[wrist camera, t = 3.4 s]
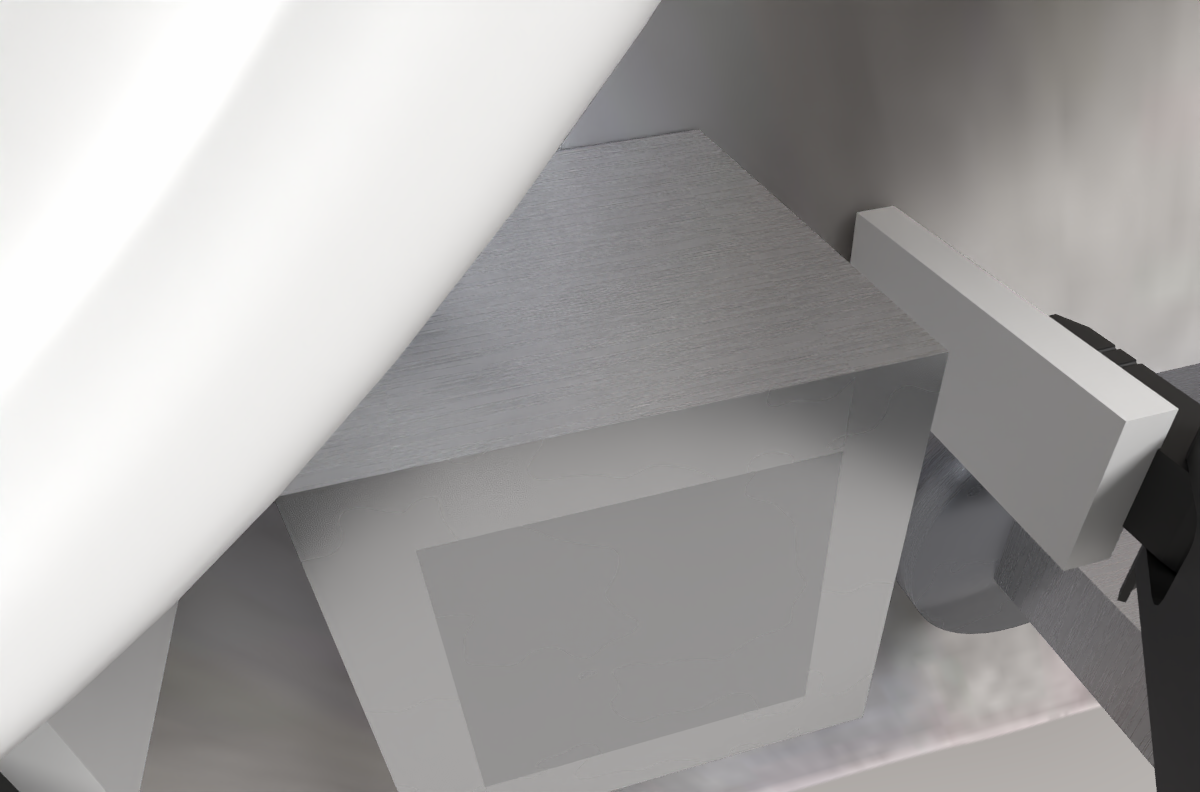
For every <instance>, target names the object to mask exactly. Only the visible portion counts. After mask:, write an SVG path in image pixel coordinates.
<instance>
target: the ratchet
mask: <svg viewBox="0 0 1200 792" xmlns="http://www.w3.org/2000/svg"><path fill="white" fill-rule="evenodd" d="M1156 374H1157V375H1159V376H1160V377H1162V378H1163V379H1165V380H1166V381H1168V382H1169V383H1171V384H1172V385H1173V386H1175V387H1176V388H1178V389H1179V390H1181V391H1182V392H1184V393H1185V394H1186V395H1188V396H1189V397H1191V398H1192V399H1194V400H1195V401H1197V402H1198V403H1199V404H1200V363H1199V364H1195V365H1190V366H1186V367H1182V368H1177V369H1173V370H1169V371H1165V372H1160V373H1156ZM1141 545H1142V544H1141V543H1140V542H1139V541H1138V540H1137V539H1136V538H1134V537H1133V536H1132V535H1131V534H1130V533H1129V532H1128V531H1127V530H1126V529H1125V528H1124V529H1123V531H1122V533H1121V535H1120V537H1119V539H1118V542H1117V544H1116V546H1115V548H1114V550H1113V552H1112V555H1111V557H1110V559H1106V560H1103V561H1099V562H1095V563H1092V564H1088V565H1084V566H1081V567H1077V568H1073V569H1069V570H1066V571H1063V570H1062V569H1061V568H1060V567H1059V566H1058V565H1057V563H1056V562H1055V561H1054V560H1053V559H1052V558H1051V557H1050V556H1049V555H1048V554H1047V553H1046V552H1045V551H1044V550H1043V549H1042V548H1041V547H1040V546H1039V545H1038V543H1037V542H1036V541H1035V540H1034V539H1033V538H1032V537H1031V536H1030V535H1029V534H1028V533H1027V532H1026V531H1025V530H1024V529H1023V528H1022V527H1021V526H1020V525H1019V524H1018V522H1017V521H1016V520H1015V519H1014V518H1013V517H1012V516H1011V515H1010V514H1009V513H1008V512H1007V511H1006V510H1005V509H1004V508H1003V507H1002V506H1001V505H1000V504H999V502H998V501H997V500H996V499H995V498H994V497H993V496H992V495H991V494H990V493H989V492H988V491H987V490H986V489H985V488H984V487H983V486H982V485H981V484H980V483H979V481H978V480H977V479H976V478H975V477H974V476H973V475H972V474H971V473H970V472H969V471H968V470H967V469H966V468H965V467H964V466H963V465H962V464H961V463H960V461H959V460H958V459H957V458H956V457H955V456H954V455H953V454H952V453H951V452H950V451H949V450H948V449H947V448H946V447H945V446H944V445H943V444H942V443H941V442H940V440H939V439H938V438H937V437H936V436H935V435H934V434H933V433H932V432H931V431H930V434H929V439H928V443H927V447H926V451H925V456H924V460H923V464H922V468H921V472H920V477H919V481H918V485H917V489H916V494H915V498H914V502H913V506H912V511H911V515H910V519H909V523H908V527H907V532H906V536H905V540H904V544H903V549H902V553H901V557H900V561H899V565H898V570H897V574H896V578H895V579H896V581H897V582H898V583H899V585H900V586H901V587H902V589H903V590H904V592H905V593H906V594H907V596H908V597H909V599H910V600H911V601H912V603H913V604H914V605H915V607H916V608H917V610H918V611H919V612H920V614H921V615H922V616H923V617H924V618H925V619H926V620H927V621H928V622H930V623H931V624H933V625H934V626H936V627H938V628H941V629H943V630H946V631H950V632H955V633H965V634H978V633H989V632H995V631H1001V630H1005V629H1009V628H1013V627H1017V626H1020V625H1023V624H1026V623H1029V622H1031V624H1032V625H1033V626H1034V627H1035V628H1036V630H1037V631H1038V632H1039V633H1040V634H1041V635H1042V637H1043V638H1044V639H1045V640H1046V641H1047V642H1048V644H1049V645H1050V646H1051V647H1052V648H1053V650H1054V651H1055V652H1056V653H1057V654H1058V655H1059V657H1060V658H1061V659H1062V660H1063V661H1064V662H1065V664H1066V665H1067V666H1068V667H1069V668H1070V669H1071V671H1072V672H1073V673H1074V674H1075V675H1076V677H1077V678H1078V679H1079V680H1080V681H1081V682H1082V684H1083V685H1084V686H1085V687H1086V688H1087V689H1088V691H1089V692H1090V693H1091V694H1092V695H1093V697H1094V698H1095V699H1096V700H1097V701H1098V702H1099V704H1100V705H1101V706H1102V707H1103V708H1104V709H1105V711H1106V712H1107V713H1108V714H1109V715H1110V717H1111V718H1112V719H1113V720H1114V721H1115V722H1116V723H1117V725H1118V726H1119V727H1120V728H1121V729H1122V731H1123V732H1124V733H1125V734H1126V735H1127V737H1128V738H1129V739H1130V740H1131V741H1132V742H1133V743H1134V745H1135V746H1136V747H1137V748H1138V749H1139V750H1140V752H1141V753H1142V754H1143V755H1144V757H1145V758H1146V759H1147V760H1148V761H1149V762H1150V764H1151V765H1152V766H1153V767H1154V757H1153V747H1152V737H1151V727H1150V717H1149V707H1148V697H1147V687H1146V677H1145V667H1144V656H1143V646H1142V636H1141V626H1140V616H1139V606H1138V596H1137V588H1136V589H1134V590H1132V592H1131V594H1130V595H1129V597H1128V599H1127V601H1126V603H1125V602H1122V601H1118V600H1117V599H1118V595H1119V591H1120V588H1121V586H1122V584H1123V582H1124V580H1125V578H1126V576H1127V574H1128V572H1129V570H1130V568H1131V566H1132V564H1133V562H1134V560H1135V558H1136V556H1137V553H1138V551H1139V549H1140V547H1141ZM1154 768H1155V767H1154Z"/></svg>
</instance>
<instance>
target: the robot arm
mask: <svg viewBox="0 0 1200 792" xmlns="http://www.w3.org/2000/svg"><path fill="white" fill-rule="evenodd" d="M850 264H851V265H852V266H853V267H854V268H855V269H857V270H858V271H859V272H860V273H861V274H862V275H863V276H864V277H866V278H867V279H868V280H869V281H870V282H871V283H872V284H873V285H875V286H876V287H877V288H878V289H879V290H880V291H881V292H882V293H884V294H885V295H886V296H887V297H888V298H889V299H890V300H891V301H893V302H894V303H895V304H896V305H897V306H898V307H899V308H900V309H902V310H903V311H904V312H905V313H906V314H907V315H908V316H909V317H911V318H912V319H913V320H914V321H915V322H916V323H917V324H918V325H920V326H921V327H922V328H923V329H924V330H925V331H926V332H927V333H929V334H930V335H931V336H932V337H933V338H934V339H935V340H936V341H938V342H939V343H940V344H941V345H942V346H943V347H944V348H945V349H946V350H948V351H949V354H948V358H947V363H946V367H945V371H944V375H943V379H942V384H941V388H940V392H939V396H938V401H937V405H936V409H935V413H934V418H933V422H932V426H931V430H930V431H931V432H932V433H933V434H934V435H935V436H936V437H937V438H938V439H939V440H940V442H941V443H942V444H943V445H944V446H945V447H946V448H947V449H948V450H949V451H950V452H951V453H952V454H953V455H954V456H955V457H956V458H957V459H958V460H959V461H960V463H961V464H962V465H963V466H964V467H965V468H966V469H967V470H968V471H969V472H970V473H971V474H972V475H973V476H974V477H975V478H976V479H977V480H978V481H979V483H980V484H981V485H982V486H983V487H984V488H985V489H986V490H987V491H988V492H989V493H990V494H991V495H992V496H993V497H994V498H995V499H996V500H997V501H998V502H999V504H1000V505H1001V506H1002V507H1003V508H1004V509H1005V510H1006V511H1007V512H1008V513H1009V514H1010V515H1011V516H1012V517H1013V518H1014V519H1015V520H1016V521H1017V522H1018V524H1019V525H1020V526H1021V527H1022V528H1023V529H1024V530H1025V531H1026V532H1027V533H1028V534H1029V535H1030V536H1031V537H1032V538H1033V539H1034V540H1035V541H1036V542H1037V543H1038V545H1039V546H1040V547H1041V548H1042V549H1043V550H1044V551H1045V552H1046V553H1047V554H1048V555H1049V556H1050V557H1051V558H1052V559H1053V560H1054V561H1055V562H1056V563H1057V565H1058V566H1059V567H1060V568H1061V569H1062V570H1063V571H1066V570H1069V569H1073V568H1077V567H1081V566H1084V565H1088V564H1092V563H1095V562H1099V561H1103V560H1106V559H1110V557H1111V555H1112V552H1113V550H1114V548H1115V546H1116V544H1117V542H1118V539H1119V537H1120V535H1121V533H1122V531H1123V529H1124V528H1125V529H1126V530H1127V531H1128V532H1129V533H1130V534H1131V535H1132V536H1133V537H1134V538H1136V539H1137V540H1138V541H1139V542H1140V543H1141V544H1142V545H1141V547H1140V549H1139V551H1138V553H1137V556H1136V558H1135V560H1134V562H1133V564H1132V566H1131V568H1130V570H1129V572H1128V574H1127V576H1126V578H1125V580H1124V582H1123V584H1122V586H1121V588H1120V591H1119V595H1118V599H1117V600H1118V601H1122V602H1125V603H1126V601H1127V599H1128V597H1129V595H1130V594H1131V592H1132V590H1134V589H1136V588H1137V596H1138V606H1139V616H1140V626H1141V636H1142V646H1143V656H1144V667H1145V677H1146V687H1147V697H1148V707H1149V717H1150V727H1151V737H1152V747H1153V757H1154V767H1155V777H1156V787H1157V792H1200V404H1199V403H1198V402H1197V401H1195V400H1194V399H1192V398H1191V397H1189V396H1188V395H1186V394H1185V393H1184V392H1182V391H1181V390H1179V389H1178V388H1176V387H1175V386H1173V385H1172V384H1171V383H1169V382H1168V381H1166V380H1165V379H1163V378H1162V377H1160V376H1159V375H1157V374H1156V373H1155V372H1153V371H1152V370H1150V369H1149V368H1147V367H1146V366H1144V365H1143V364H1137V363H1136V359H1134V358H1133V357H1131V356H1130V355H1128V354H1127V353H1126V352H1124V351H1123V350H1121V349H1118V350H1116V348H1115V345H1114V344H1113V343H1111V342H1110V341H1108V340H1107V339H1105V338H1104V337H1102V336H1101V335H1100V334H1098V333H1097V332H1095V331H1094V330H1092V329H1091V328H1089V327H1087V326H1084V325H1082V324H1079V323H1077V322H1074V321H1072V320H1069V319H1067V318H1064V317H1062V316H1059V315H1057V314H1054V315H1050V316H1048V315H1046V314H1045V313H1044V312H1042V311H1041V310H1039V309H1038V308H1037V307H1035V306H1034V305H1032V304H1031V303H1030V302H1028V301H1027V300H1025V299H1024V298H1023V297H1021V296H1020V295H1018V294H1017V293H1016V292H1014V291H1013V290H1011V289H1010V288H1009V287H1007V286H1006V285H1004V284H1003V283H1002V282H1000V281H999V280H997V279H996V278H995V277H993V276H992V275H990V274H989V273H988V272H986V271H985V270H983V269H982V268H981V267H979V266H978V265H976V264H975V263H974V262H972V261H971V260H969V259H968V258H967V257H965V256H964V255H962V254H961V253H960V252H958V251H957V250H955V249H954V248H953V247H951V246H950V245H948V244H947V243H946V242H944V241H943V240H941V239H940V238H939V237H937V236H936V235H934V234H933V233H932V232H930V231H929V230H927V229H926V228H925V227H923V226H922V225H920V224H919V223H918V222H916V221H915V220H913V219H912V218H911V217H909V216H908V215H906V214H905V213H904V212H902V211H901V210H899V209H898V208H896V207H895V206H889V207H884V208H878V209H872V210H867V211H861V212H857V216H856V223H855V230H854V238H853V245H852V253H851V260H850ZM178 601H179V600H178ZM178 601H177V602H176V603H175V604H174V605H173V606H172V607H171V608H170V609H169V610H168V611H167V612H166V613H164V614H163V615H162V616H161V617H160V618H159V619H158V620H157V621H156V622H155V623H154V624H153V625H152V626H150V627H149V628H148V629H147V630H146V631H145V632H144V633H143V634H142V635H141V636H140V637H139V638H138V639H136V640H135V641H134V642H133V643H132V644H131V645H130V646H129V647H128V648H127V649H126V650H125V651H124V652H123V653H121V654H120V655H119V656H118V657H117V658H116V659H115V660H114V661H113V662H112V663H111V664H110V665H109V666H107V667H106V668H105V669H104V670H103V671H102V672H101V673H100V674H99V675H98V676H97V677H96V678H95V679H93V680H92V681H91V682H90V683H89V684H88V685H87V686H86V687H85V688H84V689H83V690H82V691H81V692H79V693H78V694H77V695H76V696H75V697H74V698H73V699H72V700H71V701H70V702H69V703H67V704H66V705H65V706H64V707H63V708H61V709H60V710H59V711H58V712H57V713H55V714H54V715H53V716H52V717H51V718H49V719H48V720H47V721H46V722H45V723H43V724H42V725H41V726H40V727H39V728H37V729H36V730H35V731H34V732H33V733H31V734H30V735H29V736H28V737H27V738H25V739H24V740H23V741H22V742H21V743H19V744H18V745H17V746H16V747H15V748H14V749H12V750H11V751H10V752H9V753H8V754H6V755H5V756H4V757H3V758H2V759H0V792H140V787H141V782H142V778H143V773H144V768H145V763H146V758H147V753H148V748H149V743H150V738H151V733H152V729H153V724H154V719H155V714H156V709H157V704H158V699H159V694H160V689H161V684H162V680H163V675H164V670H165V665H166V660H167V655H168V650H169V645H170V640H171V635H172V631H173V626H174V621H175V616H176V611H177V606H178Z"/></svg>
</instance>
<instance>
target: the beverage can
mask: <svg viewBox="0 0 1200 792" xmlns="http://www.w3.org/2000/svg"><path fill="white" fill-rule="evenodd" d="M660 2H661V0H0V759H2V758H3V757H4V756H5V755H6V754H8V753H9V752H10V751H11V750H12V749H14V748H15V747H16V746H17V745H18V744H19V743H21V742H22V741H23V740H24V739H25V738H27V737H28V736H29V735H30V734H31V733H33V732H34V731H35V730H36V729H37V728H39V727H40V726H41V725H42V724H43V723H45V722H46V721H47V720H48V719H49V718H51V717H52V716H53V715H54V714H55V713H57V712H58V711H59V710H60V709H61V708H63V707H64V706H65V705H66V704H67V703H69V702H70V701H71V700H72V699H73V698H74V697H75V696H76V695H77V694H78V693H79V692H81V691H82V690H83V689H84V688H85V687H86V686H87V685H88V684H89V683H90V682H91V681H92V680H93V679H95V678H96V677H97V676H98V675H99V674H100V673H101V672H102V671H103V670H104V669H105V668H106V667H107V666H109V665H110V664H111V663H112V662H113V661H114V660H115V659H116V658H117V657H118V656H119V655H120V654H121V653H123V652H124V651H125V650H126V649H127V648H128V647H129V646H130V645H131V644H132V643H133V642H134V641H135V640H136V639H138V638H139V637H140V636H141V635H142V634H143V633H144V632H145V631H146V630H147V629H148V628H149V627H150V626H152V625H153V624H154V623H155V622H156V621H157V620H158V619H159V618H160V617H161V616H162V615H163V614H164V613H166V612H167V611H168V610H169V609H170V608H171V607H172V606H173V605H174V604H175V603H176V602H177V601H178V600H179V599H180V598H181V597H182V596H183V595H184V594H185V593H186V592H187V591H188V590H189V588H190V587H191V586H192V585H193V584H194V583H195V582H196V581H197V580H198V579H199V578H200V577H201V576H202V575H203V574H204V573H205V572H206V571H207V570H208V569H209V568H210V567H211V566H212V565H213V564H214V563H215V562H216V561H217V560H218V558H219V557H220V556H221V555H222V554H223V553H224V552H225V551H226V550H227V549H228V548H229V547H230V546H231V545H232V544H233V543H234V542H235V541H236V540H237V539H238V538H239V537H240V536H241V535H242V534H243V533H244V532H245V531H246V530H247V529H248V527H249V526H250V525H251V524H252V523H253V522H254V521H255V520H256V519H257V518H258V517H259V516H260V515H261V514H262V513H263V512H264V511H265V510H266V509H267V508H268V507H269V506H270V505H271V504H272V503H273V502H274V501H275V500H276V499H277V497H278V496H279V495H280V494H281V493H282V492H283V491H284V490H285V488H286V487H287V486H288V485H289V484H290V483H291V482H292V480H293V479H294V478H295V477H296V476H297V475H298V473H299V472H300V471H301V470H302V469H303V468H304V467H305V465H306V464H307V463H308V462H309V461H310V460H311V459H312V457H313V456H314V455H315V454H316V453H317V452H318V450H319V449H320V448H321V447H322V446H323V445H324V444H325V442H326V441H327V440H328V439H329V438H330V437H331V436H332V434H333V433H334V432H335V431H336V430H337V429H338V427H339V426H340V425H341V424H342V423H343V422H344V421H345V419H346V418H347V417H348V416H349V415H350V414H351V413H352V411H353V410H354V409H355V408H356V407H357V406H358V404H359V403H360V402H361V401H362V400H363V399H364V398H365V396H366V395H367V394H368V393H369V392H370V391H371V390H372V388H373V387H374V386H375V385H376V384H377V383H378V381H379V380H380V379H381V378H382V377H383V376H384V375H385V373H386V372H387V371H388V370H389V369H390V368H391V366H392V365H393V364H394V363H395V362H396V361H397V359H398V358H399V357H400V356H401V354H402V353H403V352H404V350H405V349H406V348H407V347H408V345H409V344H410V343H411V342H412V340H413V339H414V338H415V336H416V335H417V334H418V333H419V331H420V330H421V329H422V328H423V326H424V325H425V324H426V322H427V321H428V320H429V319H430V317H431V316H432V315H433V313H434V312H435V311H436V310H437V308H438V307H439V306H440V305H441V303H442V302H443V301H444V299H445V298H446V297H447V296H448V294H449V293H450V292H451V291H452V289H453V288H454V287H455V285H456V284H457V283H458V282H459V280H460V279H461V278H462V277H463V275H464V274H465V273H466V271H467V270H468V269H469V268H470V266H471V265H472V264H473V262H474V261H475V260H476V259H477V257H478V256H479V255H480V254H481V252H482V251H483V250H484V248H485V247H486V246H487V245H488V243H489V242H490V241H491V240H492V238H493V237H494V236H495V234H496V233H497V232H498V231H499V229H500V228H501V227H502V225H503V224H504V223H505V222H506V220H507V219H508V218H509V217H510V215H511V214H512V213H513V211H514V210H515V209H516V207H517V206H518V204H519V203H520V202H521V200H522V199H523V197H524V196H525V195H526V193H527V192H528V190H529V189H530V188H531V186H532V185H533V183H534V182H535V181H536V179H537V178H538V176H539V175H540V173H541V172H542V171H543V169H544V168H545V166H546V165H547V164H548V162H549V161H550V159H551V158H552V157H553V155H554V154H555V152H556V151H557V150H558V148H559V147H560V145H561V144H562V142H563V141H564V140H565V138H566V137H567V135H568V134H569V133H570V131H571V130H572V128H573V127H574V126H575V124H576V123H577V121H578V120H579V119H580V117H581V116H582V114H583V113H584V111H585V110H586V109H587V107H588V106H589V104H590V103H591V102H592V100H593V99H594V97H595V96H596V95H597V93H598V92H599V90H600V89H601V88H602V86H603V85H604V83H605V82H606V80H607V79H608V78H609V76H610V75H611V73H612V72H613V71H614V69H615V68H616V66H617V65H618V64H619V62H620V61H621V59H622V58H623V57H624V55H625V54H626V52H627V51H628V49H629V48H630V47H631V45H632V44H633V42H634V41H635V40H636V38H637V37H638V35H639V34H640V33H641V31H642V30H643V28H644V27H645V25H646V23H647V22H648V20H649V19H650V17H651V16H652V14H653V13H654V11H655V10H656V8H657V6H658V5H659V3H660Z"/></svg>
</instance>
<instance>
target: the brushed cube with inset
mask: <svg viewBox="0 0 1200 792" xmlns="http://www.w3.org/2000/svg"><path fill="white" fill-rule="evenodd" d="M948 354H949V351H948V350H946V349H945V348H944V347H943V346H942V345H941V344H940V343H939V342H938V341H936V340H935V339H934V338H933V337H932V336H931V335H930V334H929V333H927V332H926V331H925V330H924V329H923V328H922V327H921V326H920V325H918V324H917V323H916V322H915V321H914V320H913V319H912V318H911V317H909V316H908V315H907V314H906V313H905V312H904V311H903V310H902V309H900V308H899V307H898V306H897V305H896V304H895V303H894V302H893V301H891V300H890V299H889V298H888V297H887V296H886V295H885V294H884V293H882V292H881V291H880V290H879V289H878V288H877V287H876V286H875V285H873V284H872V283H871V282H870V281H869V280H868V279H867V278H866V277H864V276H863V275H862V274H861V273H860V272H859V271H858V270H857V269H855V268H854V267H853V266H852V265H851V264H850V263H849V262H848V261H846V260H845V259H844V258H843V257H842V256H841V255H840V254H839V253H837V252H836V251H835V250H834V249H833V248H832V247H831V246H830V245H828V244H827V243H826V242H825V241H824V240H823V239H822V238H821V237H820V236H818V235H817V234H816V233H815V232H814V231H813V230H812V229H811V228H809V227H808V226H807V225H806V224H805V223H804V222H803V221H802V220H800V219H799V218H798V217H797V216H796V215H795V214H794V213H793V212H791V211H790V210H789V209H788V208H787V207H786V206H785V205H784V204H782V203H781V202H780V201H779V200H778V199H777V198H776V197H775V196H773V195H772V194H771V193H770V192H769V191H768V190H767V189H766V188H764V187H763V186H762V185H761V184H760V183H759V182H758V181H757V180H755V179H754V178H753V177H752V176H751V175H750V174H749V173H748V172H746V171H745V170H744V169H743V168H742V167H741V166H740V165H739V164H737V163H736V162H735V161H734V160H733V159H732V158H731V157H730V156H728V155H727V154H726V153H725V152H724V151H723V150H722V149H721V148H719V147H718V146H717V145H716V144H715V143H714V142H713V141H712V140H710V139H709V138H708V137H707V136H706V135H705V134H704V133H703V132H702V131H700V130H699V129H697V130H690V131H684V132H677V133H671V134H664V135H658V136H651V137H645V138H639V139H632V140H626V141H619V142H613V143H606V144H600V145H593V146H587V147H580V148H574V149H568V150H561V151H556V152H555V154H554V155H553V157H552V158H551V159H550V161H549V162H548V164H547V165H546V166H545V168H544V169H543V171H542V172H541V173H540V175H539V176H538V178H537V179H536V181H535V182H534V183H533V185H532V186H531V188H530V189H529V190H528V192H527V193H526V195H525V196H524V197H523V199H522V200H521V202H520V203H519V204H518V206H517V207H516V209H515V210H514V211H513V213H512V214H511V215H510V217H509V218H508V219H507V220H506V222H505V223H504V224H503V225H502V227H501V228H500V229H499V231H498V232H497V233H496V234H495V236H494V237H493V238H492V240H491V241H490V242H489V243H488V245H487V246H486V247H485V248H484V250H483V251H482V252H481V254H480V255H479V256H478V257H477V259H476V260H475V261H474V262H473V264H472V265H471V266H470V268H469V269H468V270H467V271H466V273H465V274H464V275H463V277H462V278H461V279H460V280H459V282H458V283H457V284H456V285H455V287H454V288H453V289H452V291H451V292H450V293H449V294H448V296H447V297H446V298H445V299H444V301H443V302H442V303H441V305H440V306H439V307H438V308H437V310H436V311H435V312H434V313H433V315H432V316H431V317H430V319H429V320H428V321H427V322H426V324H425V325H424V326H423V328H422V329H421V330H420V331H419V333H418V334H417V335H416V336H415V338H414V339H413V340H412V342H411V343H410V344H409V345H408V347H407V348H406V349H405V350H404V352H403V353H402V354H401V356H400V357H399V358H398V359H397V361H396V362H395V363H394V364H393V365H392V366H391V368H390V369H389V370H388V371H387V372H386V373H385V375H384V376H383V377H382V378H381V379H380V380H379V381H378V383H377V384H376V385H375V386H374V387H373V388H372V390H371V391H370V392H369V393H368V394H367V395H366V396H365V398H364V399H363V400H362V401H361V402H360V403H359V404H358V406H357V407H356V408H355V409H354V410H353V411H352V413H351V414H350V415H349V416H348V417H347V418H346V419H345V421H344V422H343V423H342V424H341V425H340V426H339V427H338V429H337V430H336V431H335V432H334V433H333V434H332V436H331V437H330V438H329V439H328V440H327V441H326V442H325V444H324V445H323V446H322V447H321V448H320V449H319V450H318V452H317V453H316V454H315V455H314V456H313V457H312V459H311V460H310V461H309V462H308V463H307V464H306V465H305V467H304V468H303V469H302V470H301V471H300V472H299V473H298V475H297V476H296V477H295V478H294V479H293V480H292V482H291V483H290V484H289V485H288V486H287V487H286V488H285V490H284V491H283V492H282V493H281V494H280V495H279V496H278V497H277V499H276V500H275V502H276V504H277V507H278V509H279V511H280V514H281V516H282V518H283V521H284V523H285V525H286V528H287V530H288V533H289V535H290V537H291V540H292V542H293V544H294V547H295V549H296V552H297V554H298V556H299V559H300V561H301V563H302V566H303V568H304V570H305V573H306V575H307V578H308V580H309V582H310V585H311V587H312V589H313V592H314V594H315V597H316V599H317V601H318V604H319V606H320V608H321V611H322V613H323V615H324V618H325V620H326V623H327V625H328V627H329V630H330V632H331V634H332V637H333V639H334V642H335V644H336V646H337V649H338V651H339V653H340V656H341V658H342V660H343V663H344V665H345V668H346V670H347V672H348V675H349V677H350V679H351V682H352V684H353V687H354V689H355V691H356V694H357V696H358V698H359V701H360V703H361V705H362V708H363V710H364V713H365V715H366V717H367V720H368V722H369V724H370V727H371V729H372V732H373V734H374V736H375V739H376V741H377V743H378V746H379V748H380V751H381V753H382V755H383V758H384V760H385V762H386V765H387V767H388V769H389V772H390V774H391V777H392V779H393V781H394V784H395V786H396V788H397V791H398V792H610V791H614V790H617V789H621V788H624V787H627V786H631V785H634V784H638V783H641V782H644V781H648V780H651V779H655V778H658V777H661V776H665V775H668V774H672V773H675V772H678V771H682V770H685V769H689V768H692V767H695V766H699V765H702V764H706V763H709V762H712V761H716V760H719V759H723V758H726V757H729V756H733V755H736V754H740V753H743V752H746V751H750V750H753V749H757V748H760V747H763V746H767V745H770V744H774V743H777V742H780V741H784V740H787V739H791V738H794V737H797V736H801V735H804V734H808V733H811V732H814V731H818V730H821V729H825V728H828V727H831V726H835V725H838V724H842V723H845V722H848V721H852V720H855V719H859V718H862V717H863V713H864V709H865V705H866V701H867V697H868V692H869V688H870V684H871V680H872V675H873V671H874V667H875V663H876V658H877V654H878V650H879V646H880V642H881V637H882V633H883V629H884V625H885V620H886V616H887V612H888V608H889V604H890V599H891V595H892V591H893V587H894V582H895V578H896V574H897V570H898V565H899V561H900V557H901V553H902V549H903V544H904V540H905V536H906V532H907V527H908V523H909V519H910V515H911V511H912V506H913V502H914V498H915V494H916V489H917V485H918V481H919V477H920V472H921V468H922V464H923V460H924V456H925V451H926V447H927V443H928V439H929V434H930V430H931V426H932V422H933V418H934V413H935V409H936V405H937V401H938V396H939V392H940V388H941V384H942V379H943V375H944V371H945V367H946V363H947V358H948Z"/></svg>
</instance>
